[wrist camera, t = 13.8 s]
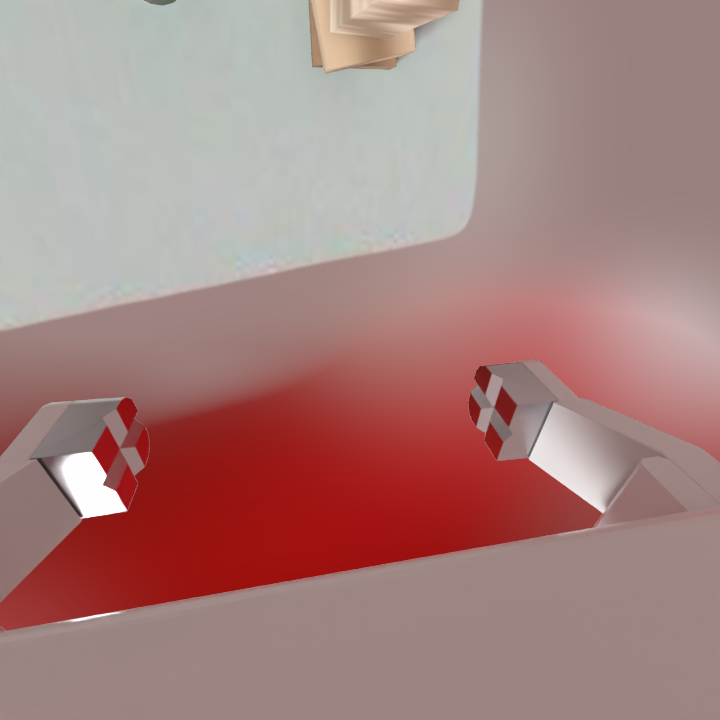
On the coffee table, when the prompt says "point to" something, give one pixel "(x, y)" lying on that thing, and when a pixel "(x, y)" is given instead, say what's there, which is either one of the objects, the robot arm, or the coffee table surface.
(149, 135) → the coffee table surface
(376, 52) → the oak block
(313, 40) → the light brown flat block
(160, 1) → the beer can
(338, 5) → the tan block
